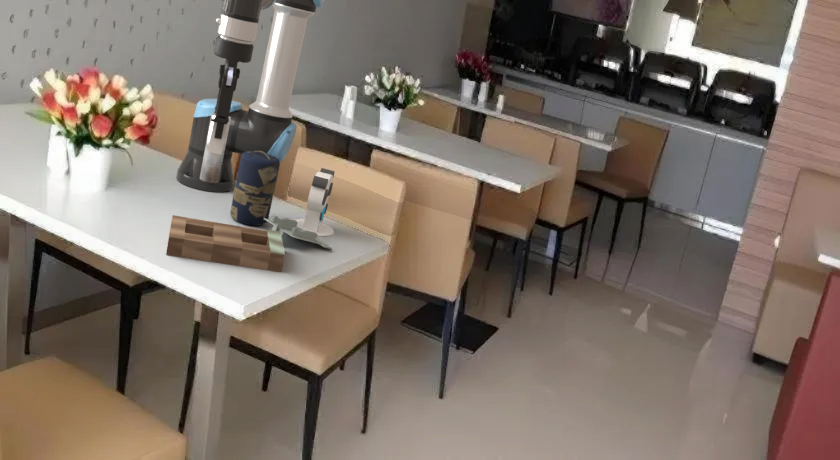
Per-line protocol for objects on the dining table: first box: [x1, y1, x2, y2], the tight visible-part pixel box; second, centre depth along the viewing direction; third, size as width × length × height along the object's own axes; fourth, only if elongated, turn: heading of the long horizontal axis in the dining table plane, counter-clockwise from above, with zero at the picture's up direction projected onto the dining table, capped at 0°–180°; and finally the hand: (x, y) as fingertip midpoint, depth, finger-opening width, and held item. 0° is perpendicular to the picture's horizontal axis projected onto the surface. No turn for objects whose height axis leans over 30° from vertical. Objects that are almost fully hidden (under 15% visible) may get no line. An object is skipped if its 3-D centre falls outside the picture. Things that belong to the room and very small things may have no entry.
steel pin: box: [200, 113, 231, 183], centre depth 173 cm, size 4×4×14 cm
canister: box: [229, 151, 281, 226], centre depth 202 cm, size 10×10×18 cm
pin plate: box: [165, 214, 286, 273], centre depth 180 cm, size 14×24×4 cm, turn 104°
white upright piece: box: [294, 167, 335, 237], centre depth 209 cm, size 12×11×15 cm
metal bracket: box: [264, 214, 333, 250], centre depth 198 cm, size 14×6×15 cm
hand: (214, 149), depth 173 cm, fingers closed on steel pin, 4 cm apart
